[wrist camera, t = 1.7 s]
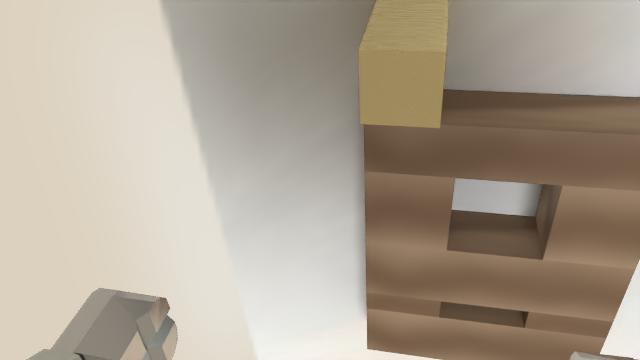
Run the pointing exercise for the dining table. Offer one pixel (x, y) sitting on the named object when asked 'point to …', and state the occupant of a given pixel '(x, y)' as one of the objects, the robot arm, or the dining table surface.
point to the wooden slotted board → (502, 227)
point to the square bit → (403, 63)
